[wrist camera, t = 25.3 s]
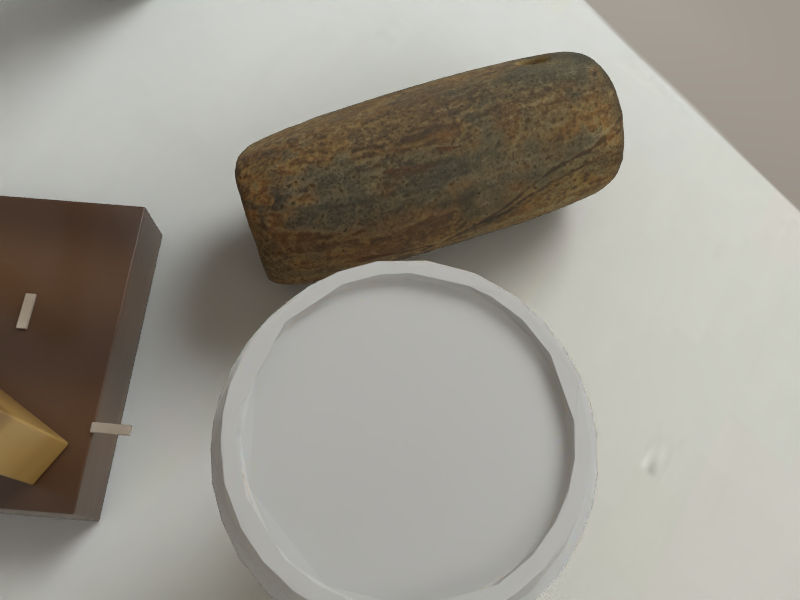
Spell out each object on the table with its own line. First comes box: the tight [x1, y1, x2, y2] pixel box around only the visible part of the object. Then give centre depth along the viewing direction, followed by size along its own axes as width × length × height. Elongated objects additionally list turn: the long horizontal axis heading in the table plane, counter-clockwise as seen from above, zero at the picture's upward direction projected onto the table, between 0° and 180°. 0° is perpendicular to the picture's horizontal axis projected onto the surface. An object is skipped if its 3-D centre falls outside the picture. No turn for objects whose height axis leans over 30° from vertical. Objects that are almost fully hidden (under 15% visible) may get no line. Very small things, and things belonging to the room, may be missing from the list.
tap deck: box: [0, 196, 162, 521], centre depth 28 cm, size 14×11×3 cm
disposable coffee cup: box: [211, 261, 598, 600], centre depth 23 cm, size 10×10×12 cm
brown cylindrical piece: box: [235, 52, 624, 285], centre depth 30 cm, size 15×7×7 cm, turn 112°
